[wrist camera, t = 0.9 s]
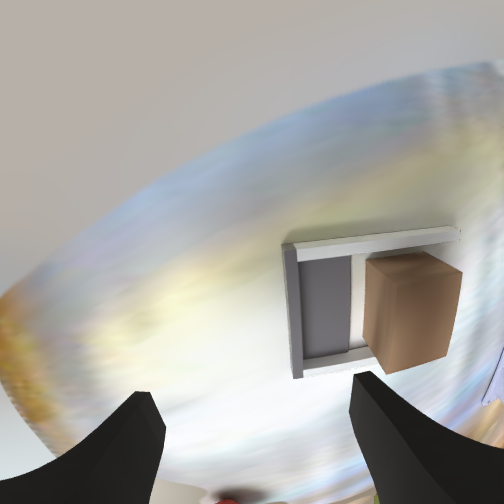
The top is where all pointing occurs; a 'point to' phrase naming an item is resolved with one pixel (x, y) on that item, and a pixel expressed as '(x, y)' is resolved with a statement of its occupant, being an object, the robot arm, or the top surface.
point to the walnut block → (409, 309)
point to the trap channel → (334, 296)
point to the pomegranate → (227, 501)
